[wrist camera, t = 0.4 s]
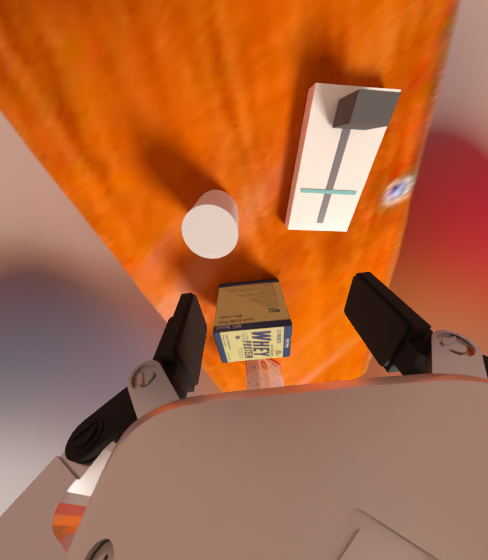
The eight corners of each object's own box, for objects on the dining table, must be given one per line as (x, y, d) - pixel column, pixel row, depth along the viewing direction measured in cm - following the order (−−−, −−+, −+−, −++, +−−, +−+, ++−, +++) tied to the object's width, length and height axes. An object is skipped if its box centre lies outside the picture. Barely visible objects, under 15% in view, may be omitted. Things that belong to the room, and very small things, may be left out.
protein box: (218, 284, 46) (211, 333, 34) (278, 277, 46) (294, 325, 33) (224, 312, 52) (221, 363, 40) (278, 307, 52) (292, 357, 39)
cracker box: (244, 355, 65) (247, 427, 48) (257, 348, 63) (265, 421, 46) (268, 370, 72) (278, 438, 54) (280, 364, 69) (295, 432, 52)
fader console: (308, 89, 26) (316, 82, 24) (386, 95, 27) (402, 89, 25) (284, 224, 38) (288, 229, 35) (339, 226, 39) (346, 231, 36)
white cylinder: (204, 181, 33) (191, 192, 23) (244, 202, 35) (248, 221, 25) (191, 221, 37) (175, 245, 27) (227, 237, 39) (224, 266, 29)
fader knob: (339, 99, 25) (359, 88, 21) (374, 102, 25) (400, 92, 21) (331, 128, 26) (349, 123, 22) (364, 130, 27) (387, 126, 23)
